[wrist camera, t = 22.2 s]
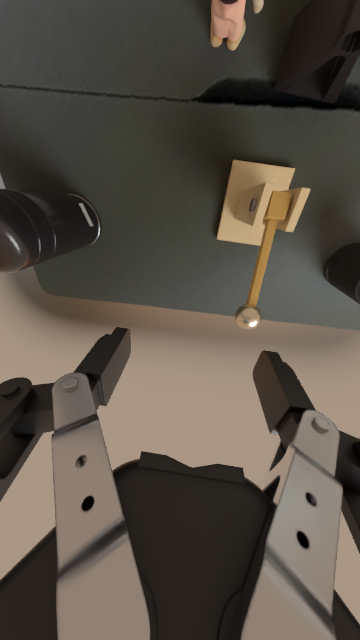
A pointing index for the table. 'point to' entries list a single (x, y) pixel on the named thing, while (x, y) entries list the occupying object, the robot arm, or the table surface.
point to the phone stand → (321, 50)
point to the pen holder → (345, 271)
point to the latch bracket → (256, 201)
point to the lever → (263, 259)
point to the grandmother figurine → (229, 21)
